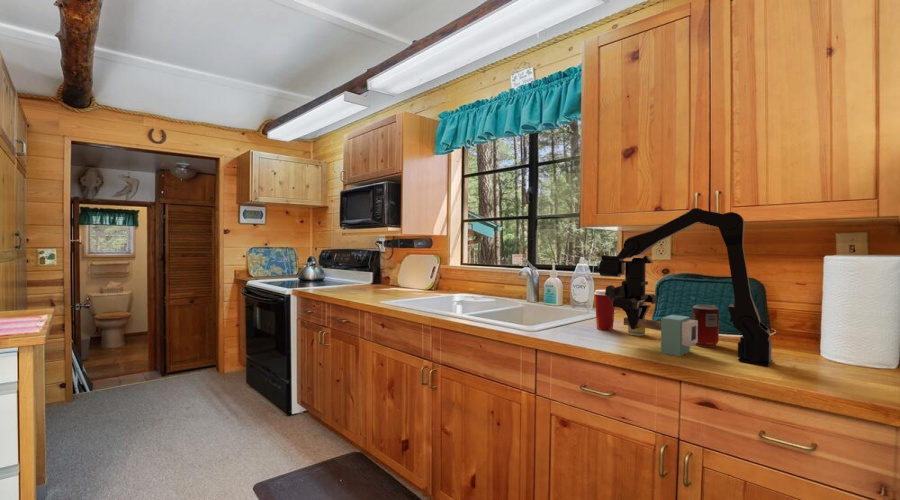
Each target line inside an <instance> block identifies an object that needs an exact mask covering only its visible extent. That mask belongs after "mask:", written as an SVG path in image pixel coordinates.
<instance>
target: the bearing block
mask: <svg viewBox="0 0 900 500" xmlns="http://www.w3.org/2000/svg"><path fill="white" fill-rule="evenodd" d="M689 319H691V316H686V315H677V314H670V315H666V316H663V317H661V330H660V353H661V354H663V355H664V354H665V355H670V356H676V357H681V356H683V355H686V354H688V353H690V351H691V346H684V345H681V322H683V321H686V320H689Z"/></svg>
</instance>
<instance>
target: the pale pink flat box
mask: <svg viewBox="0 0 900 500" xmlns="http://www.w3.org/2000/svg"><path fill="white" fill-rule="evenodd" d="M692 327H693V333H692V334H691V330H692ZM697 339H698V320H692V318H690V319H689V320H686V321H683V322H681V345H684V346H690V347H691V346H694V345H695V344H696V343H697Z"/></svg>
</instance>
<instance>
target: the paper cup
mask: <svg viewBox="0 0 900 500" xmlns="http://www.w3.org/2000/svg"><path fill="white" fill-rule="evenodd" d="M605 290H606V289H595V291H594V292H593V294H594V301H595V320H596V324H595V325H596V329H597V330H600V331H613V329H614V322H615V308H616V307H612V300H613V299H611V300H609V298H608V296H607V295H605V293H606V292H605Z"/></svg>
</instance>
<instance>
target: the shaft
mask: <svg viewBox="0 0 900 500" xmlns="http://www.w3.org/2000/svg"><path fill="white" fill-rule="evenodd" d="M623 326H627V327H628V326H630V324H629V321H628V317H627V316H625V317H623ZM636 327H642V328H645V329H649V330H656V331H661V321H660V320H652V319H646V318H645V319H639V320H638V323H637V325H636ZM692 333H693V327H692V330H691V334H692Z"/></svg>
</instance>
